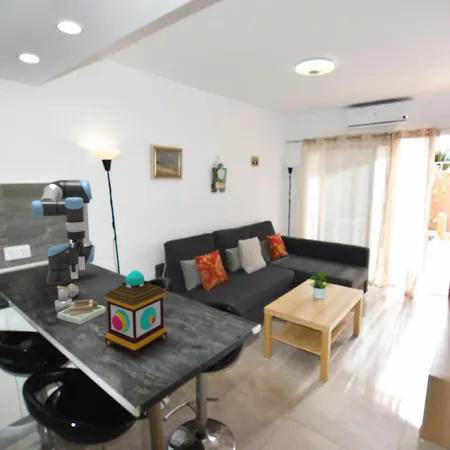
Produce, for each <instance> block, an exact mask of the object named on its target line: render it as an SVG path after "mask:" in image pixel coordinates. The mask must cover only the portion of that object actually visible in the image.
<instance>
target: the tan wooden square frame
mask: <svg viewBox="0 0 450 450" xmlns="http://www.w3.org/2000/svg"><path fill="white" fill-rule="evenodd" d="M97 305H98V301H96V300H95V301H94V299H92V298H91V299H83V300H74V301H73V300H72V302H71V306H70V309H69V311H70V316H71V315H78V314H86V313H92V311H93V309H97Z"/></svg>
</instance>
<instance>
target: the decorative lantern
mask: <svg viewBox="0 0 450 450" xmlns="http://www.w3.org/2000/svg"><path fill="white" fill-rule="evenodd" d="M165 295H166V290H164V289H163V288H162V287H160V286H157V285H153V284H152V283H149V281H148V280H146V279H145V276H144V274H143V273H142V272H141V271H139V270H135V269H134V270H132V271H130V272H129V273H128V274H127V275H126V277H125V281H124V282H122V284H120V285H119V286H117V287H116V288H112V289H110V290H109V291H108V292H106V294H104V296H103V297H104V299H105V300H106V302H107V321H108V322H107V323H108V331H107V333H106V335H105V338H104V341H105V345H106V346H110V344H111V343H114V344H116V345H118V346H120V347H122V348H124V349H126V350H129V351H130V352H131V353H132V357H133V358H134V359H137V357H138V352H139V351H140V350H141V349H143V348H144V347H146V346H148V345H149V344H151V343H152V342H155V341H157V339H159V338H161V337H162V338H163V340H166V339H168V330H167V329H166V327H165V325H164V297H165Z"/></svg>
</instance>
